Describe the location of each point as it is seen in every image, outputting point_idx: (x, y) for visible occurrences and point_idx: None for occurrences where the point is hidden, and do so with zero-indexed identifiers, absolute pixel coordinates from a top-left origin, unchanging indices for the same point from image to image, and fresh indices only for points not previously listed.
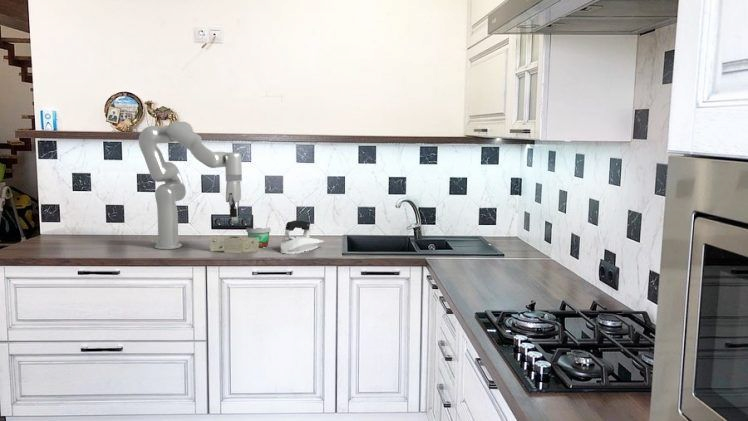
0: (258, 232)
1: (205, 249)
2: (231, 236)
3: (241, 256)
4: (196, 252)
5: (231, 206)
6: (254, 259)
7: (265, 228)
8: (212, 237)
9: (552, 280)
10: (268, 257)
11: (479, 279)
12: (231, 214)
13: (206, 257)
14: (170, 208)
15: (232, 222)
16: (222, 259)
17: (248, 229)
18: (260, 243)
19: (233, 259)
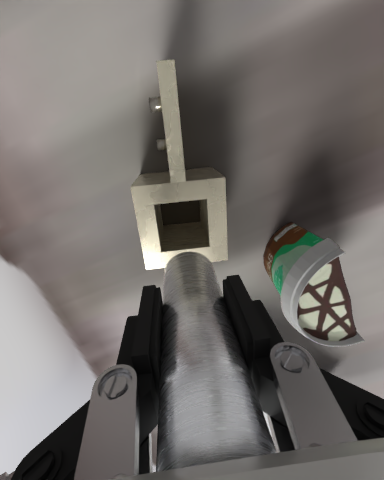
0: (283, 309)
1: (191, 32)
2: (206, 200)
3: (95, 268)
4: (94, 15)
5: (68, 444)
6: (67, 322)
7: (313, 341)
8: (159, 84)
9: None
10: (117, 345)
11: None
12: (128, 322)
13: (4, 139)
14: None
15: (165, 268)
16: (6, 226)
17: (309, 266)
18: (272, 281)
19: (30, 264)
